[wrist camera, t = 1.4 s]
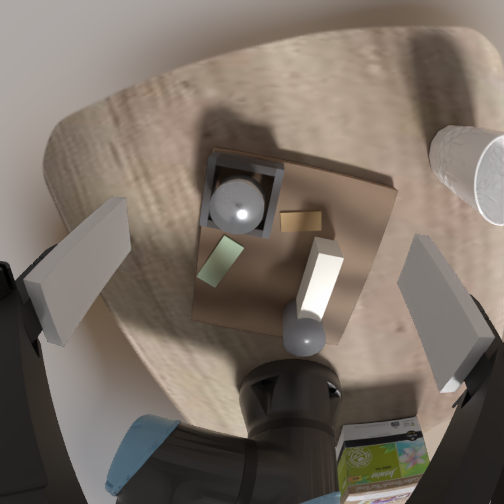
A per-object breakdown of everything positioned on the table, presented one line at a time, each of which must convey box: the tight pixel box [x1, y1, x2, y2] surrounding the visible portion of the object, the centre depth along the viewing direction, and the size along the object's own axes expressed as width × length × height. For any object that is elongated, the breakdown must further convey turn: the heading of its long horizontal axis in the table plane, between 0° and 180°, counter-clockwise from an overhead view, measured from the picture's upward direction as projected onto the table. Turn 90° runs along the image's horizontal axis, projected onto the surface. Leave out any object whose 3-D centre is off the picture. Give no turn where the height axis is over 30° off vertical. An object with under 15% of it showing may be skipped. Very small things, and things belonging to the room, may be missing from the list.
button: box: [209, 174, 265, 234], centre depth 27 cm, size 4×4×3 cm
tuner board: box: [192, 147, 398, 345], centre depth 33 cm, size 20×18×4 cm
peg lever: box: [283, 237, 344, 357], centre depth 32 cm, size 12×4×5 cm, turn 170°
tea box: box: [336, 416, 430, 504], centre depth 44 cm, size 15×10×15 cm, turn 94°
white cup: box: [429, 125, 504, 226], centre depth 23 cm, size 8×8×10 cm
